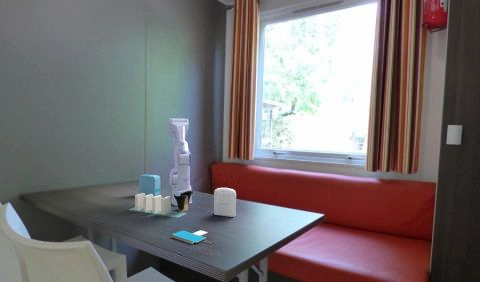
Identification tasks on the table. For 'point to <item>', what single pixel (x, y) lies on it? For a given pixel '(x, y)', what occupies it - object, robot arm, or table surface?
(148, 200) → the cream domino
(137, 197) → the cream domino
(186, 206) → the ochre domino
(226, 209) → the photo printer
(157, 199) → the cream domino
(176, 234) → the phone stand
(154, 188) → the data package
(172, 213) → the teal mat
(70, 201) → the table surface
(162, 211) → the cream domino
